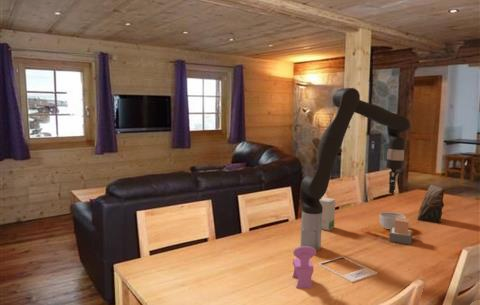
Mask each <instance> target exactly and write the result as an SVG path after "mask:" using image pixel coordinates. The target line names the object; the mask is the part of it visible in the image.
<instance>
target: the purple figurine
mask: <svg viewBox="0 0 480 305" xmlns="http://www.w3.org/2000/svg"><path fill="white" fill-rule="evenodd" d="M292 253H293V255H294V256H295V257H296V258H293V259H292V266H294V269H293V274H292V276H291V277H292V278H293V277H296V278H295V279H297V277H298V279H297V284H296V286H295V288H296V289H314V286H313V282H312V276H313V273H314V265H313V264H312V261H311V259H312V258H314V256H316V255H317V251H316V250H315V249H314V248H312V247H309V246H302V247H300V246H298V247H296V248H295V249H293V252H292ZM293 279H294V278H293Z"/></svg>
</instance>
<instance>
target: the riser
mask: <svg viewBox="0 0 480 305" xmlns="http://www.w3.org/2000/svg"><path fill="white" fill-rule="evenodd" d="M394 229H395V228H392V227H391V229H390V230H389V238H388V241H389V242H390V243H391V242H392V243H398V244H403V245H410V246H412V244H413V233H414V232H413V230H412V229H408V234H402V233H395V232H394Z"/></svg>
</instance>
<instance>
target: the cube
mask: <svg viewBox="0 0 480 305" xmlns="http://www.w3.org/2000/svg"><path fill="white" fill-rule="evenodd" d="M409 226H410V218H407V217H406V218H399V217H396V219H395V229H394V232H395V233H402V234H408V230H409Z"/></svg>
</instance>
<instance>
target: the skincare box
mask: <svg viewBox="0 0 480 305" xmlns="http://www.w3.org/2000/svg"><path fill="white" fill-rule="evenodd" d="M319 201H320V203H321V205H322V207H323V211H322V230H323V231H330V230H332V229H333V228H335V218H336V217H335V215H336V198H329V197H322V198H319Z"/></svg>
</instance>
